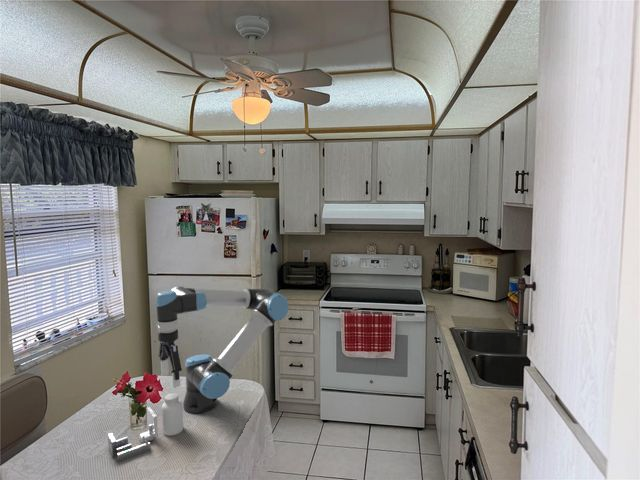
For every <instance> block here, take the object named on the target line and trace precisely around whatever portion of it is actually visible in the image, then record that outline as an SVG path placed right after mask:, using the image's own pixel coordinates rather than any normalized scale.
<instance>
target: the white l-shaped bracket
mask: <svg viewBox="0 0 640 480" xmlns="http://www.w3.org/2000/svg"><path fill="white" fill-rule="evenodd" d="M146 413H147V414H146V416H147V417H146V418H147V428H148V430H146V431H145V432H141V433H139V435H138V436H139V440H140V441H141V444H145V443H146V445H147V444H148V442H150V441H153V440H154V437H157V436H159V431H158V430H159V429H158V416H157V414H156V413H155V412H154V409H152V408H151V406H148V407H146Z"/></svg>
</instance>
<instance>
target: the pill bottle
mask: <svg viewBox="0 0 640 480" xmlns="http://www.w3.org/2000/svg"><path fill="white" fill-rule="evenodd" d="M183 410H184V409H183V402H182V401H181V400H180V398H179V394H178V393H176V392H175V393H174V392H173V393H172V392H171V393H169V394H166V395H165V396H164V402H163V403H162V406H161V419H162V422H161V423H162V432H163V434H164V435H165V436H168V437H170V436H175V435H178V434H180V433H182V432H183V430H184V416H183V415H184V414H183V413H184V412H183Z"/></svg>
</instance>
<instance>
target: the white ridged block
mask: <svg viewBox="0 0 640 480" xmlns="http://www.w3.org/2000/svg"><path fill="white" fill-rule="evenodd" d="M107 442H108V444H107V445H108V451H109V453H110V456H111V457H112V458H117V459H116V460H117V461H118V462H120V461H123V460H125V459H128V458H131V457H134V456H137V455H138V454H142V453H144V452H146V451H149V450H151V449H152V448H151V446H152V445H151V442H150V441H148V444H147V445H146V443H141V444H140V445H137V446H134V447H133V445H132V443H129V438H128V436H125V437H122V438H119V439H116V438H115V436H114V433H113V432H109V433H107Z"/></svg>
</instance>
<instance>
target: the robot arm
mask: <svg viewBox="0 0 640 480" xmlns="http://www.w3.org/2000/svg"><path fill="white" fill-rule="evenodd" d="M155 300H156V304H155V306H156V314H157V315H156V318H157V319H156V321H157V323H156V327H157V331H158V333H157V338H158V342H159V350H158V358H159V360H160V370H161V377H164V376H169V362H170V365H171V369H172V370H171V378H172V388H173V389H175V388H179V387H181V375H180V374H181V373H180V372H181V371H182V370H183V369H182V365H181V359H180V354H179V348H178V347H179V346H178V345H176V344H175V341H177V340H178V339H179V330H178V328H179V320H178V315H182V314H186V313H192V312H198V311H202V310H205V309H206V308H207V307H209V306H210V307H211V306H212V307H240V308H242V309H245V310H246V309H247V310H252V315H251V316H250V318H249V319H248V320H247V322H246V323H245V324H244V325H243V326H242V327H241V329H240V330H239V331H238V332H237V334H236V335H235V336H234V337H233V339H232V340H231V341H230V342H229V344H228V345H227V346H226V347H225V348H224V349H223V351H222V352H221V353H220V354H219V356H217V357H214V358H213V357H212V355H210V354H207V353H206V354H203V353H202V354H196V355H193V356H190V357H188V358H187V359H185V366H184V368H185V381H186V382H185V383H186V386H185V387H186V391H185V394H184V399H183V402H182V410H184V411H185V412H187V413H190V414H202V413H205V412H209V411H211V410H213V409H214V408H215V407H217V405H218V399H220V398H221V397H223V396H224V395H225V394H226V393H227V391H228V390H229V388H230V383H231V381H230V380H231V378H233V376H234V369H235V368H236V367H237V365H238V364H239V363H240V362H241V360H242V359H243V358H244V357H245V355H246V354H247V353H248V352H249V350H251V347H253V345H254V344H255V343H256V342H257V341H258V339H259V338H260V337H261V335H262V334H263V333H264V331H265V330H266V329H267V328H268V327H272V326H273V325H274V324H276V323H275V322H277V321H281V320H283V319H284V318H286V317H287V316H288V315H287V314H288V313H289V309H290V307H289V304H290V303H289V301H288V299H287V297H286V296H285V295H282V294H281V293H279V292H275V291H273V290H269V289H266V288H243V290H235V289H233V290H232V289H214V288H213V289H212V288H192V287H191V288H189V287H185V286H180V285H179V286H178V285H177V286H175V287H173V288H171V290H164V291H160V292H158V293H157V294H156V299H155Z"/></svg>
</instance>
